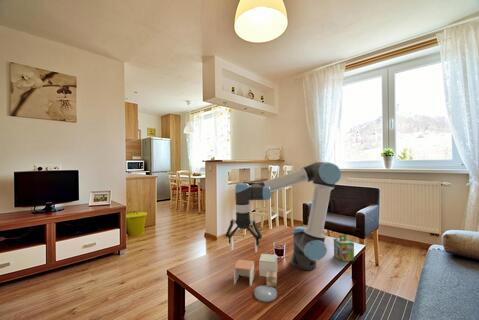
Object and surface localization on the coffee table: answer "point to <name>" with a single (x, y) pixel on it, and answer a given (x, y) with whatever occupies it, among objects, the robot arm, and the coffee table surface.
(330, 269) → the coffee table surface
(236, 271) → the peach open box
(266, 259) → the pale green cube
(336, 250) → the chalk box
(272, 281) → the block
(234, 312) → the coffee table surface
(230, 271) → the coffee table surface
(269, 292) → the dish
